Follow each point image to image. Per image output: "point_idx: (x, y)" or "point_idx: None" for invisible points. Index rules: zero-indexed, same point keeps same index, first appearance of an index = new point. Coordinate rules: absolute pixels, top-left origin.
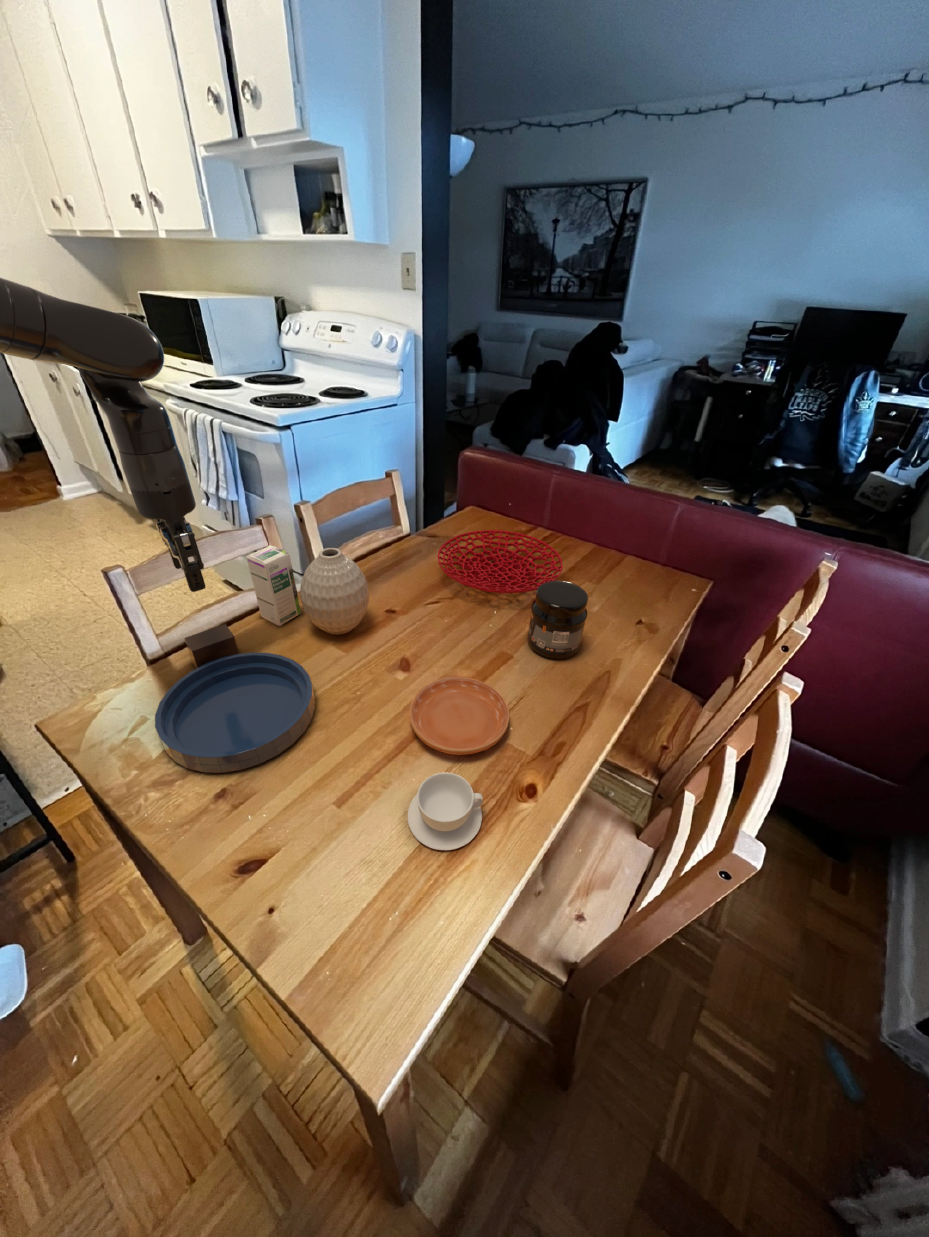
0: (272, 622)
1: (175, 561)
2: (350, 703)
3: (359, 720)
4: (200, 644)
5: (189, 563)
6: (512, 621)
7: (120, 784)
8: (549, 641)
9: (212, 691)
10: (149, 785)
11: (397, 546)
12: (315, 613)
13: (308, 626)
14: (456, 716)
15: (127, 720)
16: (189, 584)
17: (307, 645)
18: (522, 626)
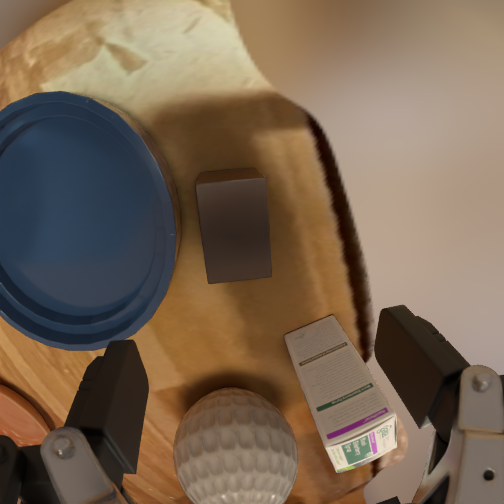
0: (303, 327)
1: (401, 335)
2: (50, 355)
3: (22, 350)
4: (213, 208)
5: (30, 493)
6: (149, 498)
7: (24, 48)
8: None
9: (135, 187)
10: (4, 85)
11: (363, 469)
12: (195, 423)
13: (255, 371)
14: (13, 415)
15: (147, 40)
16: (100, 367)
17: (201, 358)
18: (138, 498)
